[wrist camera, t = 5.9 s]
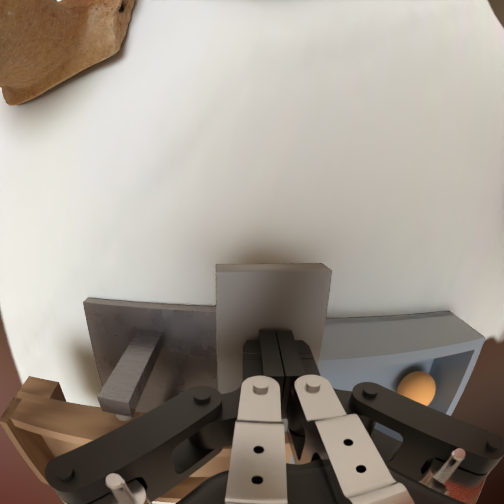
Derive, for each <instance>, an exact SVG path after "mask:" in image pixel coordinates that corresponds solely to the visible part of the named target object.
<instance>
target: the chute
mask: <svg viewBox="0 0 504 504" xmlns="http://www.w3.org/2000/svg"><path fill="white" fill-rule="evenodd" d="M331 274H332V270H330V269H329V268H328V267H326V266H325V265H324V264H322V263H309V264H216V336H217V374H218V391H219V392H220V393H221V394H225V393H229V392H233V391H235V390H237V389H238V388H239V387H240V386H241V385H242V357H243V345H244V344H245V343H246V341H247V340H258V333H259V330H292V333H293V336H294V339H295V340H303V341H304V342H305V343H307V344H308V345H309V346H310V349H311V352H312V354H313V357H314V359H315V362H316V365H317V367H318V363H319V357H320V352H321V346H322V339H323V333H324V327H325V320H326V313H327V306H328V298H329V291H330V282H331ZM145 413H147V412H134V415H133V417H128V416H123V415H118V414H113V413H108V412H104V411H102V409H101V408H100V407H93V406H86V405H80V404H75V403H69V402H66V399H65V397H64V395H63V392H62V389H61V387H60V384H59V382H55V381H49V380H44V379H40V378H35V377H31V376H29V377H28V379H27V380H26V381H25V383H24V384H23V386H22V387H21V388H20V390H19V391H18V393H17V394H16V395H15V397H14V398H13V400H12V401H11V403H10V404H9V406H8V407H7V409H6V410H5V412H4V413H3V415H2V416H1V418H0V423H1V425H2V427H3V428H4V430H5V432H6V433H7V435H8V436H9V438H10V439H11V441H12V443H13V444H14V445H15V447H16V448H17V450H18V451H19V453H20V454H21V456H22V457H23V458H24V460H25V461H26V463H27V464H28V465H29V467H30V468H31V469H32V470H33V471H34V473H35V474H36V475H37V477H38V478H39V479H40V480H41V481H42V483H46V484H48V485H49V483H48V482H47V480H46V478H45V468H46V465H47V464H48V463H49V462H50V461H51V460H52V459H53V458H55V457H58V456H60V455H62V454H64V453H67V452H69V451H71V450H73V449H76V448H78V447H80V446H82V445H84V444H86V443H89V442H91V441H93V440H95V439H97V438H99V437H101V436H103V435H105V434H107V433H109V432H111V431H113V430H115V429H117V428H119V427H121V426H123V425H125V424H127V423H129V422H130V421H132V420H134V419H136V418H138V417H140V416H142V415H143V414H145ZM281 422H284V433H285V455H286V463H290V459H291V455H292V451H291V448H290V444H289V440H288V437H287V432H286V431H287V425H288V421H287V419H281ZM231 452H232V445H231V446H226V447H223V449H222V451H221V452H220V453H219V454H218V455H216V456H215V457H214V458H213V459H211V460H210V461H209V462H208V463H206V464H205V465H204V466H202V467H201V468H200V469H198V470H197V471H196V472H194V473H193V474H192V475H190V476H189V477H188V478H186V479H185V480H183V481H182V482H181V483H179V484H178V485H176V486H175V487H174V488H172V489H171V490H169V491H168V492H166V493H165V494H163V495H162V496H160V497H159V498H157V499H156V500H154V501H159V502H172V503H177V502H178V501H180V500H181V499H182V498H184V497H185V496H186V495H187V494H189V493H190V492H191V491H192V490H194V489H195V488H196V487H197V486H198V485H200V484H201V483H202V482H203V481H205V480H206V479H208V478H210V477H212V476H214V475H216V474H218V473H221V472H224V471H227V470H229V467H230V460H231Z"/></svg>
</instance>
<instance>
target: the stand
mask: <svg viewBox="0 0 504 504" xmlns="http://www.w3.org/2000/svg"><path fill="white" fill-rule="evenodd" d="M83 304H84V310H85V315H86V320H87V325H88V330H89V335H90V339H91V344H92V348H93V352H94V356H95V360H96V364H97V368H98V371H99V375H100V378H101V382H102V385H103V388H102V390H101V391H100V393H99V395H98V396H97V398H98V400H99V403H100V406H101V409H102V411H104V412H108V413H113V414H118V415H123V416H128V417H133V415H134V412H149V411H151V410H153V409H154V408H156V407H158V406H160V405H161V404H163V403H165V402H167V401H168V400H170V399H172V398H174V397H175V396H177V395H179V394H180V393H182V392H184V391H185V390H187V389H189V388H191V387H194V386H210V387H213V388H215V389H217V390H218V374H217V336H216V306H195V305H175V304H159V303H144V302H131V301H119V300H108V299H97V298H87V299H86V300H85V301H84V302H83Z"/></svg>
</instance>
